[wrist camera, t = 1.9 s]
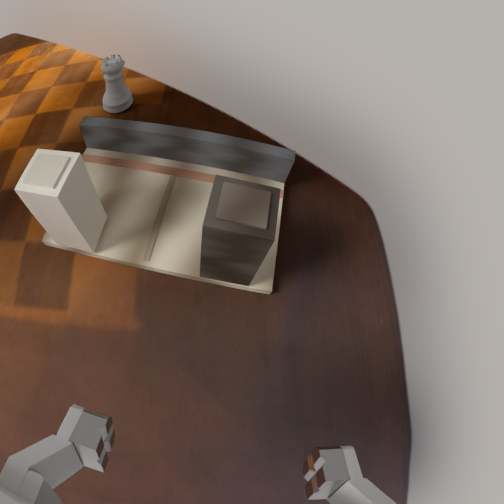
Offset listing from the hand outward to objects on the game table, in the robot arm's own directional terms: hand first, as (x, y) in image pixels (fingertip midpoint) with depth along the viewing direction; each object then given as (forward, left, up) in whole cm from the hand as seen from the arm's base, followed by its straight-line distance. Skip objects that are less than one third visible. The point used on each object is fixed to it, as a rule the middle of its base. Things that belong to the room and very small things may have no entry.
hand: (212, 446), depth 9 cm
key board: (-8, +18, -16) cm, 26 cm away
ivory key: (-15, +13, -15) cm, 25 cm away
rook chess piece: (-20, +33, -16) cm, 42 cm away
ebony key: (0, +13, -15) cm, 20 cm away
